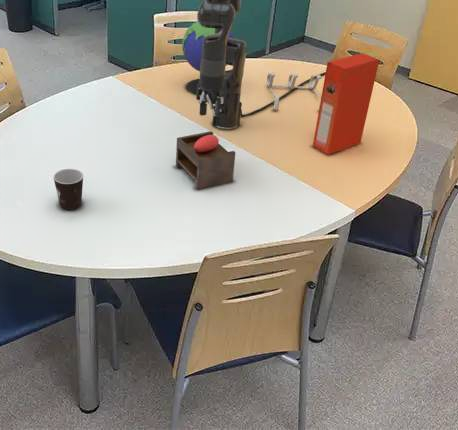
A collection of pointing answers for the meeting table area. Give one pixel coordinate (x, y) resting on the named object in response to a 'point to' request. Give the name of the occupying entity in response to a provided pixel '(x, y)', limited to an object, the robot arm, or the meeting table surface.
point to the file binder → (344, 102)
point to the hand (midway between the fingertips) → (209, 120)
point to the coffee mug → (69, 188)
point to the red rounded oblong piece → (206, 143)
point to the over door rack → (290, 85)
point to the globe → (196, 49)
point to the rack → (205, 162)
